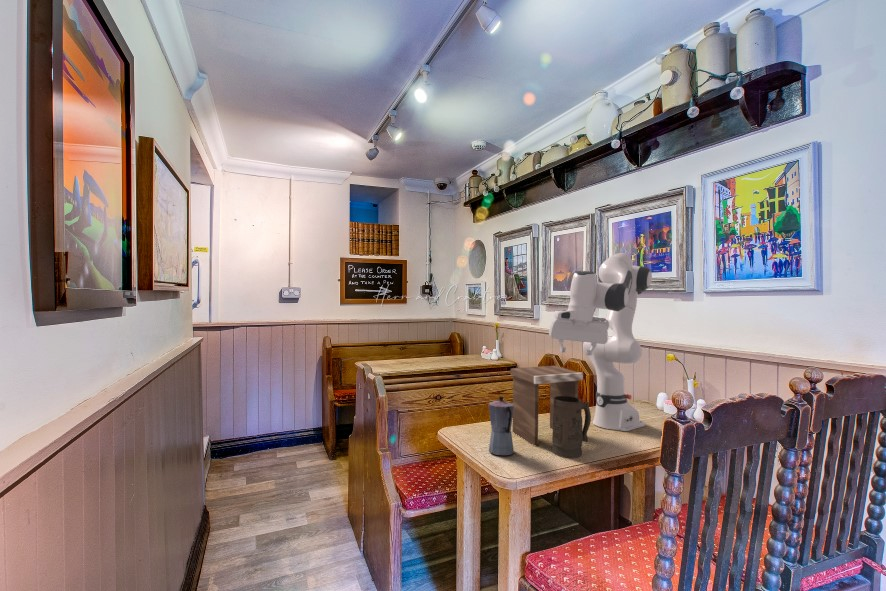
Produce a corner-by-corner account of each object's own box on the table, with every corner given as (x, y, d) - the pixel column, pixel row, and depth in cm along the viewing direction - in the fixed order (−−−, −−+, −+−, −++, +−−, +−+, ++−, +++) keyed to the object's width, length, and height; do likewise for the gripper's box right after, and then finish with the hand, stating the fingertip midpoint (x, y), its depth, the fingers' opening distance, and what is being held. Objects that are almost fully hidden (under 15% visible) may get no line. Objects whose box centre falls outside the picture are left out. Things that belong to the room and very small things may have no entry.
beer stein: (565, 460, 144) (569, 402, 144) (543, 449, 153) (547, 395, 154) (596, 455, 151) (599, 400, 152) (573, 445, 160) (577, 393, 161)
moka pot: (504, 443, 159) (504, 391, 159) (524, 459, 145) (525, 401, 145) (481, 446, 156) (482, 393, 156) (499, 462, 142) (500, 403, 142)
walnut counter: (553, 426, 180) (554, 365, 180) (581, 440, 164) (582, 373, 163) (509, 432, 172) (510, 368, 172) (534, 447, 155) (535, 376, 155)
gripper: (606, 318, 152) (602, 355, 152) (550, 312, 153) (546, 349, 153) (612, 319, 146) (608, 358, 146) (553, 312, 147) (549, 351, 147)
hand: (576, 353), depth 150 cm, fingers open, 8 cm apart
